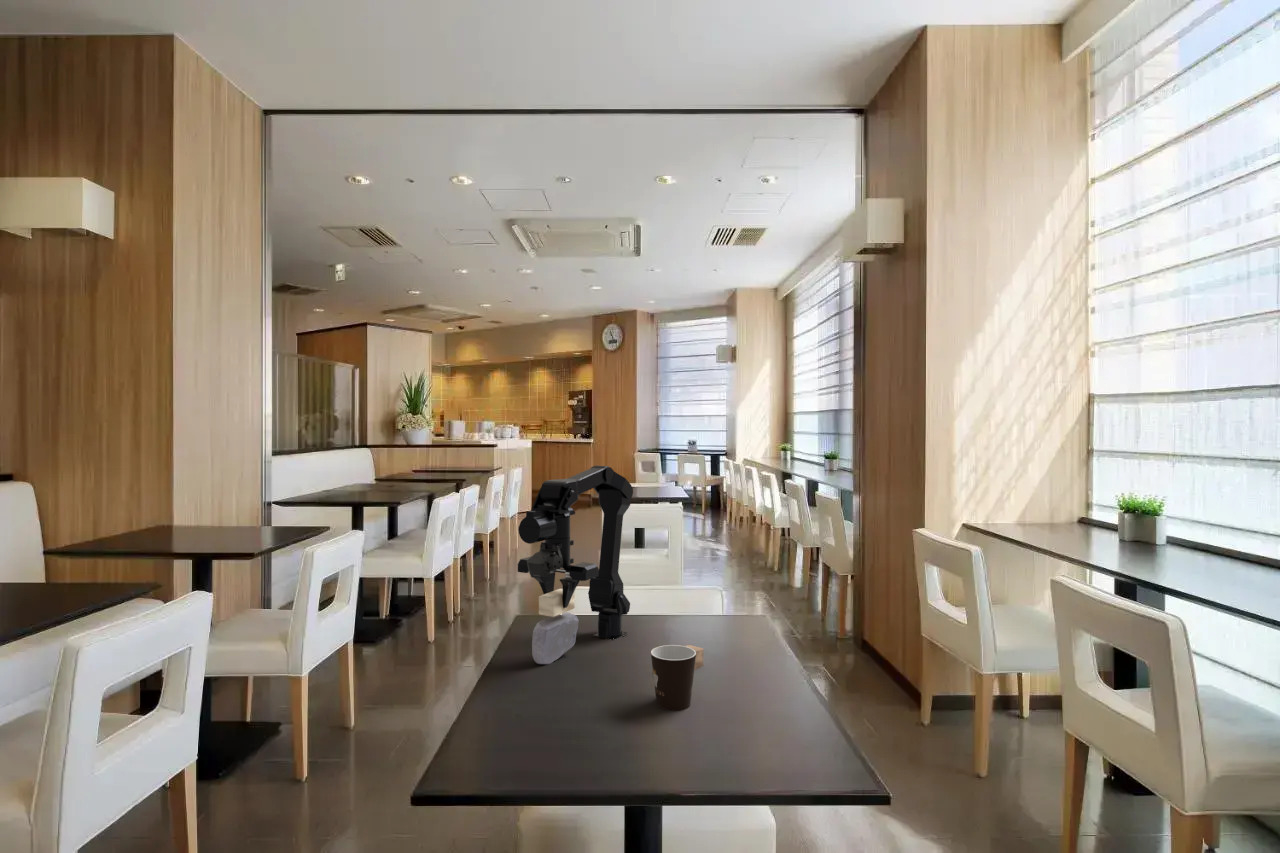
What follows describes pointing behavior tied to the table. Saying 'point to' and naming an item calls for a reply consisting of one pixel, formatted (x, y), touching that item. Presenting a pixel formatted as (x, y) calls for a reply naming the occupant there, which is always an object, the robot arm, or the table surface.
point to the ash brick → (554, 603)
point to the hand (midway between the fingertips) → (557, 606)
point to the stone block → (554, 637)
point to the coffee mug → (673, 676)
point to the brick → (697, 656)
